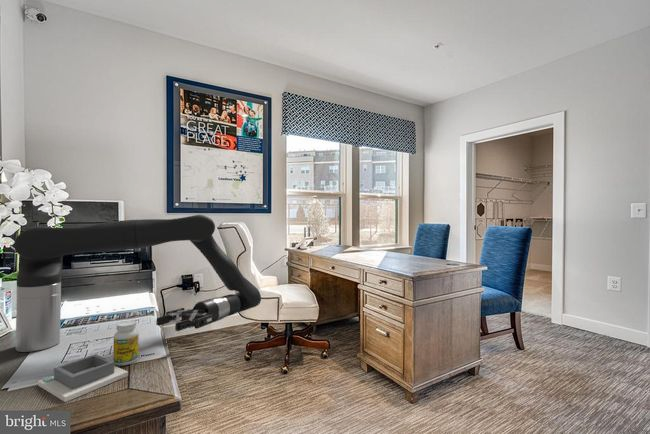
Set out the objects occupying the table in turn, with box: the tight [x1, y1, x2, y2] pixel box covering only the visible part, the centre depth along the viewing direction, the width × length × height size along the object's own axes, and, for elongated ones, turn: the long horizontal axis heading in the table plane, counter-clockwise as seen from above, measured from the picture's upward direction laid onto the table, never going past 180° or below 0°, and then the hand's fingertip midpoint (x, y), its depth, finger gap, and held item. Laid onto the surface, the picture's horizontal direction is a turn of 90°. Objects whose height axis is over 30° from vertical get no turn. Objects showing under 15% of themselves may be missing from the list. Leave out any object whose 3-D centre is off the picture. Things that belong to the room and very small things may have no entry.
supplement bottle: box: [112, 320, 140, 366], centre depth 80 cm, size 5×5×10 cm
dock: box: [37, 353, 129, 403], centre depth 71 cm, size 12×12×4 cm
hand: (166, 324), depth 90 cm, fingers open, 8 cm apart
